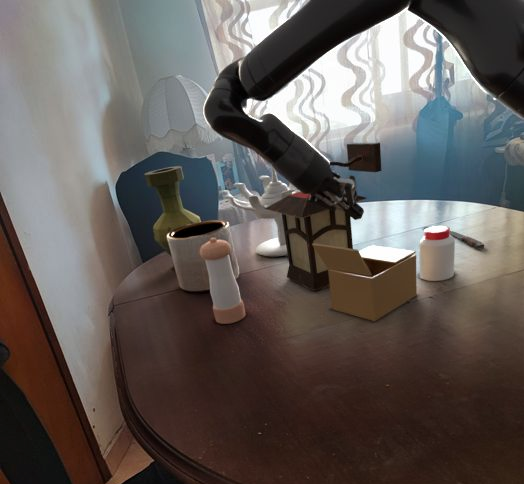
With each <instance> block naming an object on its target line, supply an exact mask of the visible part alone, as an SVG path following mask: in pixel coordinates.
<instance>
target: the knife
mask: <svg viewBox="0 0 524 484" xmlns="http://www.w3.org/2000/svg"><path fill="white" fill-rule="evenodd" d="M430 227H431V226H426V227H424V230H425V229H427V228H430ZM450 235H451V236H452V237H456V238H457V239H458V241H462V242H466V243H467V245H469V246H471V247H475V248H476V249H483V248H485V244H484V243H483V242H481V241H479V240H477V239H475V238H472V237H470V236H467V235H463V234H461V233H459V232H456V231H452V230H450Z"/></svg>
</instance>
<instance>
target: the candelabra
mask: <svg viewBox="0 0 524 484" xmlns="http://www.w3.org/2000/svg"><path fill="white" fill-rule="evenodd" d="M258 178H259V180H261V181H262V186H263V191H264V193H263V194H262V195H261V196H259V195H258V194H252V192H250V191H249V190H248V188H247V187H246V184H245V183H244V182H235V183H234V184H232V186H233V187H235V188H238V191H239V193H240V194H241V196H243V197H244V198H245V199H246V200H247V201H244V200H240V199H237V198H235V197H234V196H233V195H232V194H231V193H230V190H229V189H224V190H220V191H219V194H221V195H225V196H224V198H225V199H227V200H228V201H229V203H230V204H231V205H232V206H233V207H235V208H238V209H241V210H245V211H248V212H251V213H253V214H254V216H255V217H256V219H262V220H274V223H275V224H276V228H277V237H274V238H271V239H268V240H266V241H263V242H262V243H260V244H259V245H258V246H257V247H256V250H255V251H256V253H257V254H258V255H260V256H263V257H272V258H273V257H284V256H288V254H287V248H286V241H285V234H284V227H283V221H282V214H281V213H278V212H274V211H270V210H266V209H265V208H267V207H268V206H270V205H272V204H274V203H276V202H278V201H279V200H281V199H283V198H285V197H287V196H288V195H291V194H294V193H297V192H300V191H299V190H298V189H297V188H296V187H295V186H293V185H292V184H291V183H290V182H289V185H287V184H286V183H284V182H282V181H281V180H278V176H277V171H276V170H275V169H274V168H273V167H272V166H271V176H268V175H261V176H259V177H258Z"/></svg>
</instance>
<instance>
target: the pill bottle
mask: <svg viewBox="0 0 524 484" xmlns="http://www.w3.org/2000/svg"><path fill="white" fill-rule="evenodd" d="M429 227H430V228H427V229H424V230H423V234H424V235H423V237H422V238H421V239H420V240H419V242H418V247H419V248H418V249H419V250H418V251H419V253H418V255H419V257H418V258H419V262H418V263H419V265H418V266H419V278H420V279H422V280H425V281H427V282H428V281H429V282H440V281H446V280H450V279H451V278H453V277H454V275H455V254H456V253H455V252H456V251H455V250H456V239H455V237H454V236H453V235H450V231H451V229H450V227H448V226H444V225H437V226H429Z"/></svg>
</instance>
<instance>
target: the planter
mask: <svg viewBox="0 0 524 484" xmlns="http://www.w3.org/2000/svg"><path fill="white" fill-rule="evenodd" d="M211 238H216V239H217V240H224V241H227V242H228V243H229V244H230V246H231V252H230V254H229V257H230V262H231V266H232V271H233V274H234V277H235V279H236V280H237V279H239V276H240V268H239V267H240V266H239V264H238V263H239V262H238V259H237V254H236V249H235V245H234V240H233V235H232V231H231V226H230V223H229V221H227V220H223V219H211V220H203V221H202V220H201V222H197V223H193V224H189V225H185V226H182V227H180V228H177V229H175V230H173V231H171V232H170V233H168V234H167V240H168V243H169V247H170V251H171V255H172V257H171V258H172V263H173V262H174V266H175V270H174V271H175V275H176V279H177V281H178V286H179V287H180V289H182V290H183V291H186V292H188V293H207V292H208V293H209V292H210V282H209V274H208V270H207V265H206V261H205V259H203V258H202V257H201V255H200V249H201V247H202V246H203V245H204V244H205V243H207V242H209V241H210V239H211ZM174 266H173V267H174Z"/></svg>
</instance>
